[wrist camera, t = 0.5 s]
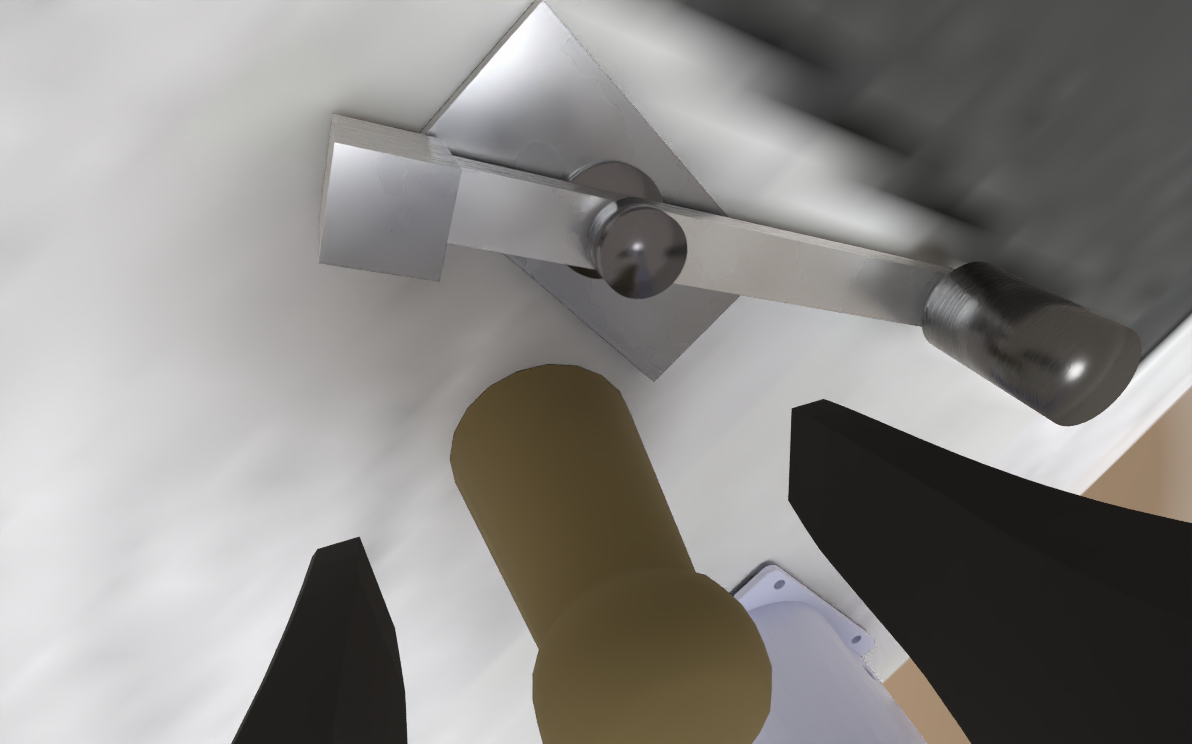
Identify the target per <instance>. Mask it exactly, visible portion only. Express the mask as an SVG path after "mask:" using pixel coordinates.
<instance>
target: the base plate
mask: <svg viewBox="0 0 1192 744" xmlns="http://www.w3.org/2000/svg"><path fill="white" fill-rule="evenodd" d="M419 134H423V135H427V136H432V137H436V138H440V139H442V140H443V142H444V144H445V145H446V147H447V148H448V150H449V151H450V153H451V154H452V155H453V156H457V157H462V158H466V159H471V160H475V161H479V162H484V163H488V164H493V165H497V166H502V167H506V168H510V169H515V170H519V171H524V172H528V173H533V174H537V175H542V176H546V177H550V178H555V179H559V180H564V181H568V182H573V183H577V184H581V185H586V186H590V187H595V188H599V189H604V190H608V191H612V192H617V193H621V194H626V195H630V196H635V197H639V198H644V199H648V200H652V201H657V202H661V203H666V204H670V205H675V206H679V207H683V208H688V209H692V210H697V211H701V212H706V213H710V214H715V215H719V216H723V217H728V216H727V215H726V214H725V213H724V212H723V211H722V209H721V208H720V207H719V206H718V205H717V204H716V202H715V201H714V200H713V199H712V198H711V197H710V195H709V194H708V193H707V192H706V191H705V190H704V188H703V187H702V186H701V185H700V184H699V183H698V181H697V180H696V179H695V178H694V177H693V175H692V174H691V173H690V172H689V171H688V170H687V168H686V167H685V166H684V165H683V164H682V163H681V161H680V160H679V159H678V158H677V157H676V156H675V154H674V153H673V152H672V151H671V150H670V149H669V147H668V146H667V145H666V144H665V143H664V142H663V140H662V139H661V138H660V137H659V136H658V135H657V133H656V132H655V131H654V130H653V129H652V127H651V126H650V125H649V124H648V123H647V122H646V120H645V119H644V118H643V117H642V116H641V115H640V113H639V112H638V111H637V110H636V109H635V108H634V106H633V105H632V104H631V103H630V102H629V101H628V99H627V98H626V97H625V96H624V95H623V94H622V92H621V91H620V90H619V89H618V88H617V86H616V85H615V84H614V83H613V82H612V81H611V79H610V78H609V77H608V76H607V75H606V74H605V72H604V71H603V70H602V69H601V68H600V67H599V65H598V64H597V63H596V62H595V61H594V60H593V58H592V57H591V56H590V55H589V54H588V53H587V51H586V50H585V49H584V48H583V47H582V46H581V44H580V43H579V42H578V41H577V40H576V38H575V37H574V36H573V35H572V34H571V33H570V31H569V30H568V29H567V28H566V27H565V26H564V24H563V23H562V22H561V21H560V20H559V19H558V17H557V16H556V15H555V14H554V13H553V12H552V10H551V9H550V8H549V7H548V6H547V5H546V3H545V2H544V1H543V0H535V1H534V2H533V3H532V5H531V6H530V7H529V8H528V9H527V10H526V11H525V13H524V14H523V15H522V16H521V17H520V18H519V19H518V21H517V22H516V23H515V24H514V25H513V26H512V28H511V29H510V30H509V31H508V32H507V33H506V34H505V36H504V37H503V38H502V39H501V40H500V41H499V42H498V44H497V45H496V46H495V47H494V48H493V49H492V50H491V52H490V53H489V54H488V55H487V56H486V57H485V58H484V60H483V61H482V62H481V63H480V64H479V65H478V66H477V68H476V69H475V70H474V71H473V72H472V73H471V74H470V76H469V77H468V78H467V79H466V80H465V81H464V83H463V84H462V85H461V86H460V87H459V88H458V89H457V91H456V92H455V93H454V94H453V95H452V96H451V97H450V99H449V100H448V101H447V102H446V103H445V104H444V105H443V107H442V108H441V109H440V110H439V111H438V112H437V113H436V115H435V116H434V117H433V118H432V119H431V120H430V121H429V123H428V124H427V125H426V126H425V127H424V128H423V129H422V131H421V132H420V133H419ZM505 255H506V256H508V257H509V258H510V259H511V260H512V261H513V262H515V263H516V264H517V265H518V266H519V267H520V268H522V269H523V270H524V271H525V272H526V273H527V274H529V275H530V276H531V277H532V278H533V279H534V280H536V281H537V282H538V283H539V284H540V285H541V286H543V287H544V288H545V289H546V290H547V291H548V292H550V293H551V294H552V295H553V296H554V297H555V298H557V299H558V300H559V301H560V302H561V303H562V304H564V305H565V306H566V307H567V308H568V309H569V310H571V311H572V312H573V313H574V314H575V315H576V316H578V317H579V318H580V319H581V320H582V321H583V322H585V323H586V324H587V325H588V326H589V327H590V328H592V329H593V330H594V331H595V332H596V333H597V334H599V335H600V336H601V337H602V338H603V339H604V340H606V341H607V342H608V343H609V344H610V345H611V346H613V347H614V348H615V349H616V350H617V351H619V352H620V353H621V354H622V355H623V356H624V357H626V358H627V359H628V360H629V361H630V362H631V363H633V364H634V365H635V366H636V367H637V368H638V369H640V370H641V371H642V372H643V373H644V374H645V375H647V376H648V377H649V378H650V379H651V380H652V381H655V380H656V379H657V378H658V377H659V376H660V375H661V374H662V373H663V372H664V371H665V370H666V369H667V368H668V367H669V366H670V365H671V364H672V363H673V362H674V361H675V360H676V359H677V358H678V357H679V356H680V355H681V354H682V353H683V352H684V351H685V350H686V349H687V348H688V347H689V346H690V345H691V344H692V343H693V342H694V341H695V340H696V339H697V338H698V337H699V336H700V335H701V334H702V333H703V332H704V331H705V330H706V329H707V328H708V327H709V326H710V325H711V324H712V323H713V322H714V321H715V320H716V319H717V318H718V317H719V316H720V315H721V314H722V313H723V312H724V311H725V310H726V309H727V308H728V307H729V306H730V305H731V304H732V303H733V302H734V301H735V300H736V299H737V298H738V297H739V296H740V295H738V294H732V293H727V292H721V291H715V290H710V289H704V288H698V287H692V286H687V285H681V284H675V283H673V284H672V285H671V286H670V287H668V288H667V289H666V290H664V291H663V292H661V293H659V294H657V295H655V296H653V297H649V298H645V299H631V298H627V297H624V296H622V295H620V294H618V293H617V292H615V291H614V290H613V289H612V288H611V287H610V286H609V285H608V283H607V282H606V281H605V280H604V279H603V278H602V277H601V275H600V274H599V273H598V272H597V271H596V270H595V269H590V268H584V267H578V266H573V265H567V264H561V263H555V262H550V261H544V260H538V259H533V258H527V257H521V256H516V255H510V254H505Z"/></svg>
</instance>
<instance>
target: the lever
mask: <svg viewBox="0 0 1192 744" xmlns="http://www.w3.org/2000/svg"><path fill="white" fill-rule="evenodd" d="M447 244H453V245H458V246H464V247H470V248H476V249H481V250H487V251H493V252H498V253H504V254H510V255H516V256H521V257H527V258H533V259H538V260H544V261H550V262H555V263H561V264H567V265H573V266H578V267H584V268H590V269H595V270H596V271H597V272H598V273H599V274H600V275H601V277H602V278H603V279H604V280H605V281H606V282H607V283H608V285H609V286H610V287H611V288H612V289H613V290H614V291H615V292H617V293H618V294H620V295H622V296H624V297H627V298H631V299H645V298H649V297H653V296H655V295H657V294H659V293H661V292H663V291H664V290H666V289H667V288H668V287H670V286H671V285H672V284H673V283H675V284H681V285H687V286H692V287H698V288H704V289H710V290H715V291H721V292H727V293H732V294H738V295H744V296H750V297H755V298H761V299H767V300H772V301H778V302H784V303H789V304H795V305H801V306H807V307H812V308H818V309H824V310H829V311H835V312H841V313H847V314H852V315H858V316H864V317H869V318H875V319H881V320H887V321H892V322H898V323H904V324H909V325H915V326H921V327H922V329H923V333H924V336H925V338H926V339H927V341H928V342H929V343H930V344H932V345H933V346H935V347H936V348H938V349H940V350H941V351H943V352H944V353H946V354H947V355H949V356H951V357H952V358H954V359H955V360H957V361H958V362H960V363H962V364H963V365H965V366H966V367H968V368H969V369H971V370H973V371H974V372H976V373H977V374H979V375H980V376H982V377H984V378H985V379H987V380H988V381H990V382H991V383H993V384H995V385H996V386H998V387H999V388H1001V389H1002V390H1004V391H1006V392H1007V393H1009V394H1010V395H1012V396H1013V397H1015V398H1017V399H1018V400H1020V401H1021V402H1023V403H1024V404H1026V405H1028V406H1029V407H1031V408H1032V409H1034V410H1035V411H1037V412H1039V413H1040V414H1042V415H1043V416H1045V417H1046V418H1048V419H1050V420H1051V421H1053V422H1054V423H1056V424H1058V425H1061V426H1074V425H1078V424H1081V423H1084V422H1086V421H1088V420H1090V419H1092V418H1094V417H1096V416H1097V415H1099V414H1100V413H1101V412H1103V411H1104V410H1105V409H1107V408H1108V407H1109V406H1110V405H1111V404H1112V403H1113V402H1114V401H1115V400H1116V399H1117V398H1118V397H1119V396H1120V395H1121V394H1122V392H1123V391H1124V390H1125V388H1126V387H1127V386H1128V384H1129V383H1130V381H1131V379H1132V378H1133V376H1134V374H1135V372H1136V369H1137V367H1138V364H1139V361H1140V357H1141V341H1140V338H1139V336H1138V335H1137V333H1136V332H1135V331H1133V330H1132V329H1130V328H1128V327H1126V326H1123V325H1121V324H1119V323H1117V322H1115V321H1113V320H1110V319H1108V318H1106V317H1104V316H1102V315H1100V314H1097V313H1095V312H1093V311H1091V310H1089V309H1086V308H1084V307H1082V306H1080V305H1078V304H1076V303H1073V302H1071V301H1069V300H1067V299H1065V298H1063V297H1060V296H1058V295H1056V294H1054V293H1052V292H1050V291H1047V290H1045V289H1043V288H1041V287H1039V286H1037V285H1034V284H1032V283H1030V282H1028V281H1026V280H1024V279H1021V278H1019V277H1017V276H1015V275H1013V274H1010V273H1008V272H1006V271H1004V270H1002V269H1000V268H997V267H995V266H993V265H991V264H989V263H986V262H972V263H968V264H965V265H963V266H961V267H959V268H957V269H955V270H954V269H952V268H950V267H945V266H941V265H936V264H932V263H927V262H923V261H919V260H914V259H910V258H905V257H901V256H896V255H892V254H888V253H883V252H879V251H874V250H870V249H865V248H861V247H856V246H852V245H848V244H843V243H839V242H834V241H830V240H825V239H821V238H817V237H812V236H808V235H803V234H799V233H794V232H790V231H785V230H781V229H777V228H772V227H768V226H763V225H759V224H754V223H750V222H746V221H741V220H737V219H732V218H728V217H723V216H719V215H715V214H710V213H706V212H701V211H697V210H692V209H688V208H683V207H679V206H675V205H670V204H666V203H661V202H657V201H652V200H648V199H644V198H639V197H635V196H630V195H626V194H621V193H617V192H612V191H608V190H604V189H599V188H595V187H590V186H586V185H581V184H577V183H573V182H568V181H564V180H559V179H555V178H550V177H546V176H542V175H537V174H533V173H528V172H524V171H519V170H515V169H510V168H506V167H502V166H497V165H493V164H488V163H484V162H479V161H475V160H471V159H466V158H462V157H457V156H453V155H452V154H451V153H450V151H449V150H448V148H447V147H446V145H445V144H444V142H443V140H442V139H440V138H436V137H432V136H427V135H423V134H419V133H415V132H410V131H406V130H402V129H397V128H393V127H389V126H385V125H380V124H376V123H372V122H368V121H363V120H359V119H355V118H350V117H346V116H342V115H338V114H332V122H331V130H330V138H329V146H328V154H327V161H326V169H325V177H324V185H323V193H322V200H321V208H320V216H319V263H321V264H328V265H334V266H341V267H347V268H354V269H360V270H367V271H373V272H380V273H386V274H393V275H399V276H406V277H412V278H419V279H426V280H432V281H439V280H440V275H441V270H442V265H443V260H444V256H445V251H446V246H447Z"/></svg>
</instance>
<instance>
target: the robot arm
mask: <svg viewBox="0 0 1192 744" xmlns="http://www.w3.org/2000/svg"><path fill="white" fill-rule="evenodd" d="M788 501H789V502H790V504H791V505H792V507H793V509H794V510H795V512H796V514H797V515H798V517H799V518H800V520H801V522H802V523H803V525H804V527H805V528H806V530H807V531H808V533H809V534H810V536H811V537H812V539H813V540H814V542H815V543H816V545H817V546H818V548H819V549H820V550H821V552H822V553H823V554H824V555H825V557H826V558H827V559H828V560H829V561H830V563H831V564H832V565H833V566H834V567H835V569H836V570H837V571H838V572H839V573H840V575H841V576H842V577H843V578H844V579H845V581H846V582H847V583H848V584H849V585H850V587H851V588H852V589H853V590H854V591H855V592H856V594H857V595H858V596H859V597H860V598H861V600H862V601H863V602H864V603H865V604H866V605H867V607H868V608H869V609H870V610H871V611H872V612H873V614H874V615H875V616H876V617H877V618H878V620H879V621H880V622H881V623H882V624H883V625H884V627H885V628H886V629H887V630H888V631H889V632H890V634H891V635H892V636H893V637H894V638H895V640H896V641H897V642H898V643H899V644H900V645H901V647H902V648H903V649H904V650H905V651H906V652H907V654H908V655H909V656H910V658H911V659H912V660H913V661H914V663H915V664H916V665H917V667H918V668H919V669H920V670H921V672H922V673H923V674H924V675H925V677H926V678H927V680H928V681H929V683H930V684H931V685H932V687H933V688H934V690H935V691H936V692H937V694H938V695H939V697H940V698H941V700H942V701H943V703H944V704H945V706H946V707H947V708H948V710H949V711H950V713H951V714H952V716H953V717H954V718H955V720H956V721H957V723H958V724H959V726H960V727H961V729H962V730H963V732H964V733H965V735H966V736H967V738H968V739H969V741H970V742H971V744H1192V523H1188V522H1184V521H1179V520H1175V519H1170V518H1166V517H1162V516H1157V515H1153V514H1149V513H1144V512H1140V511H1135V510H1131V509H1127V508H1123V507H1119V506H1115V505H1111V504H1108V503H1104V502H1100V501H1096V500H1093V499H1089V498H1086V497H1083V496H1079V495H1076V494H1072V493H1069V492H1066V491H1062V490H1059V489H1055V488H1052V487H1049V486H1045V485H1042V484H1039V483H1036V482H1033V481H1030V480H1027V479H1024V478H1021V477H1018V476H1015V475H1013V474H1010V473H1007V472H1004V471H1002V470H999V469H996V468H993V467H990V466H988V465H985V464H982V463H979V462H977V461H974V460H972V459H969V458H966V457H964V456H961V455H959V454H956V453H954V452H951V451H949V450H946V449H944V448H941V447H939V446H936V445H934V444H932V443H929V442H927V441H924V440H922V439H919V438H917V437H915V436H912V435H910V434H908V433H905V432H903V431H901V430H898V429H896V428H894V427H891V426H889V425H887V424H884V423H882V422H880V421H877V420H875V419H873V418H870V417H868V416H865V415H863V414H861V413H858V412H856V411H854V410H851V409H849V408H846V407H844V406H841V405H839V404H836V403H833V402H831V401H828V400H825V399H822V400H819V401H815V402H812V403H808V404H805V405H802V406H798V407H795V408H792V415H791V442H790V469H789V496H788ZM733 597H734V598H735V599H737V600H738V601H739V602H740V603H741V604H742V605H743V606H744V608H745V609H746V611H747V612H748V614H749V615H750V617H751V618H752V620H753V621H754V623H755V624H756V626H757V629H758V631H759V633H760V635H761V637H762V640H763V642H764V644H765V647H766V650H767V653H768V656H769V659H770V662H771V665H772V694H771V707H770V713H769V715H768V717H767V719H766V721H765V723H764V725H763V728H762V730H761V732H760V733H759V735H758V736H757V738H756V739H755V740H754V742H753V743H752V744H928V743H927V742H926V741H925V739H924V738H923V737H922V735H921V734H920V733H919V732H918V730H917V729H916V728H915V726H914V725H913V724H912V722H911V721H910V720H909V719H908V717H907V716H906V715H905V714H904V712H903V711H902V709H901V708H900V707H899V705H898V704H897V703H896V702H895V700H894V699H893V698H892V696H891V695H890V694H889V692H888V691H887V690H886V689H885V687H884V686H883V685H882V683H881V682H880V681H879V679H878V678H877V677H876V676H875V674H874V673H873V672H872V670H871V669H870V668H869V667H868V665H867V664H866V663H865V661H864V660H863V659H862V656H863V655H865V654H866V653H867V652H868V651H869V650H870V649H871V648H872V647H873V645H874V639H873V638H872V637H871V635H870V634H869V633H867V632H866V631H865V630H863V629H862V628H861V627H859V626H858V625H857V624H855V623H854V622H853V621H851V620H850V619H849V618H847V617H846V616H844V615H843V614H842V613H840V612H839V611H838V610H836V609H835V608H834V607H832V606H831V605H830V604H828V603H827V602H826V601H824V600H823V599H822V598H820V597H819V596H817V595H816V594H815V593H813V592H812V591H811V590H809V589H808V588H807V587H805V586H804V585H803V584H801V583H800V582H799V581H797V580H796V579H794V578H793V577H792V576H790V575H789V574H788V573H786V572H785V571H784V570H782V569H781V568H780V567H778V566H776V565H769V566H766V567H765V568H763V569H762V570H761V571H760V572H759V573H758V574H757V575H756V576H755V577H753V578H752V579H751V580H750V581H749V582H748V583H747V584H746V585H745V586H744V587H743V588H741V589H740V590H739V591H738V592H737V593H736V594H735V595H734V596H733ZM231 744H407V722H406V701H405V688H404V682H403V675H402V669H401V662H400V656H399V650H398V644H397V638H396V632H395V627H394V625H393V622H392V620H391V617H390V614H389V612H388V609H387V607H386V604H385V601H384V599H383V596H382V594H381V591H380V588H379V586H378V583H377V581H376V578H375V575H374V573H373V570H372V568H371V565H370V562H369V560H368V557H367V555H366V552H365V550H364V547H363V544H362V542H361V539H360V537H357V538H353V539H350V540H347V541H343V542H340V543H336V544H333V545H330V546H326V547H323V548H320V549H317V551H316V552H315V554H314V555H313V556H312V559H311V562H310V565H309V568H308V571H307V573H306V576H305V579H304V582H303V585H302V587H301V590H300V593H299V595H298V598H297V601H296V603H295V606H294V608H293V611H292V613H291V616H290V618H289V621H288V623H287V626H286V628H285V631H284V633H283V635H282V638H281V640H280V642H279V645H278V647H277V649H276V651H275V654H274V656H273V658H272V661H271V663H270V665H269V667H268V670H267V672H266V674H265V677H264V679H263V681H262V683H261V685H260V687H259V689H258V691H257V693H256V695H255V697H254V699H253V701H252V703H251V705H250V707H249V709H248V711H247V713H246V715H245V717H244V719H243V721H242V723H241V725H240V727H239V729H238V731H237V733H236V735H235V737H234V739H233V741H232V743H231Z"/></svg>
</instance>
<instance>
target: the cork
mask: <svg viewBox="0 0 1192 744" xmlns="http://www.w3.org/2000/svg"><path fill="white" fill-rule="evenodd" d="M450 462H451V466H452V470H453V474H454V479H455V483H456V485H457V487H458V489H459V491H460V493H461V495H462V497H463V499H464V501H465V503H466V505H467V507H468V509H469V511H470V513H471V515H472V517H473V519H474V521H475V523H476V525H477V527H478V529H479V531H480V533H481V535H482V537H483V539H484V541H485V543H486V545H487V547H488V549H489V551H490V553H491V555H492V557H493V559H494V561H495V563H496V565H497V567H498V569H499V571H500V573H501V575H502V577H503V579H504V581H505V583H506V585H507V587H508V589H509V591H510V593H511V595H512V597H513V599H514V601H515V603H516V605H517V607H518V609H519V611H520V613H521V615H522V617H523V619H524V621H525V623H526V625H527V627H528V629H529V631H530V633H531V635H532V637H533V639H534V641H535V643H536V645H537V647H538V649H539V651H538V655H537V659H536V663H535V667H534V671H533V704H534V709H535V714H536V718H537V723H538V727H539V731H540V735H541V738H542V742H543V744H752V743H753V742H754V740H755V739H756V738H757V736H758V735H759V733H760V732H761V730H762V728H763V725H764V723H765V721H766V719H767V717H768V715H769V713H770V707H771V694H772V665H771V662H770V659H769V656H768V653H767V650H766V647H765V644H764V642H763V640H762V637H761V635H760V633H759V631H758V629H757V626H756V624H755V623H754V621H753V620H752V618H751V617H750V615H749V614H748V612H747V611H746V609H745V608H744V606H743V605H742V604H741V603H740V602H739V601H738V600H737V599H735V598H734V597H733V596H732V595H731V594H730V593H729V592H727V591H726V590H725V589H724V588H723V587H721V586H720V585H719V584H717V583H716V582H715V581H713V580H712V579H710V578H709V577H708V576H706V575H704V574H700V573H696V572H695V569H694V567H693V564H692V562H691V559H690V557H689V555H688V552H687V550H686V547H685V545H684V542H683V540H682V538H681V535H680V533H679V530H678V528H677V525H676V523H675V521H674V518H673V516H672V513H671V511H670V508H669V506H668V504H667V501H666V499H665V496H664V494H663V491H662V489H661V487H660V484H659V482H658V479H657V477H656V474H655V472H654V470H653V467H652V465H651V462H650V460H649V457H648V455H647V453H646V450H645V448H644V445H643V443H642V440H641V438H640V436H639V433H638V431H637V428H636V426H635V423H634V421H633V419H632V416H631V414H630V411H629V409H628V407H627V405H626V403H625V401H624V399H623V397H622V395H621V393H620V391H619V390H617V389H616V388H615V387H614V386H613V385H612V384H611V383H610V382H608V381H607V380H606V379H605V378H604V377H603V376H602V375H599V374H596V373H594V372H591V371H589V370H586V369H584V368H581V367H578V366H568V365H549V364H548V365H543V366H539V367H535V368H531V369H526V370H522V371H518V372H516V373H514V374H512V375H510V376H508V377H507V378H505V379H503V380H501V381H499V382H497V383H496V384H494V385H492V386H490V387H489V388H488V389H487V390H486V391H485V392H484V393H483V394H482V395H481V396H480V397H479V398H478V399H477V400H476V401H475V402H473V403H472V404H471V405H470V406H469V407H468V408H467V410H466V412H465V414H464V416H463V418H462V419H461V421H460V423H459V425H458V427H457V429H456V430H455V432H454V436H453V442H452V449H451V455H450Z"/></svg>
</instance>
